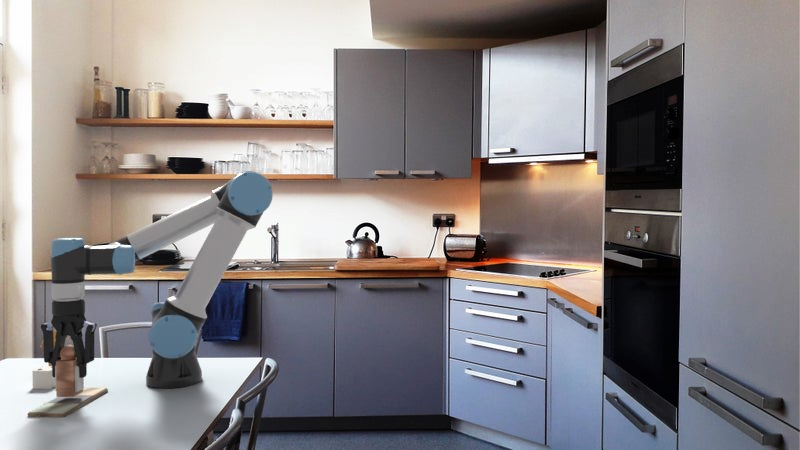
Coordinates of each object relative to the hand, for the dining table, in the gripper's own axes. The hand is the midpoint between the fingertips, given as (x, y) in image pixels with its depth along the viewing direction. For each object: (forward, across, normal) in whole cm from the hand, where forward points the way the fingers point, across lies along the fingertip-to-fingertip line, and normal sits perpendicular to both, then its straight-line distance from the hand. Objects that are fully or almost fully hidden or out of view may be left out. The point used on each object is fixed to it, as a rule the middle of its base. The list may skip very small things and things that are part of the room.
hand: (69, 389), depth 165 cm
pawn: (+1, 0, 0) cm, 1 cm away
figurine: (+4, +23, -34) cm, 41 cm away
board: (+3, 0, 0) cm, 3 cm away
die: (+4, +15, -16) cm, 22 cm away
